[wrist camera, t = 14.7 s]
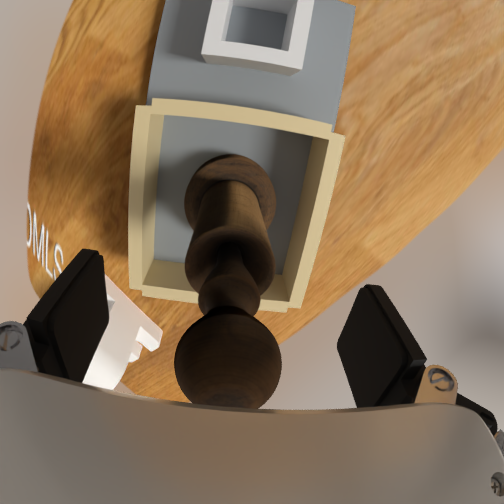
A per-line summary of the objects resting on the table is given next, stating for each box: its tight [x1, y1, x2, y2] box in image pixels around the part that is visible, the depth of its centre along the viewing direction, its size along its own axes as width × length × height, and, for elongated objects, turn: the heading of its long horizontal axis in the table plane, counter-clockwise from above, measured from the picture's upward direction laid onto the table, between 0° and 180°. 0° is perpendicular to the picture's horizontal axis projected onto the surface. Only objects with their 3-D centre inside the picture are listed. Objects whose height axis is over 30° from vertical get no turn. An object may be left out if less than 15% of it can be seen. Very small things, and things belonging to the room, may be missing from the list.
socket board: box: [128, 0, 356, 312], centre depth 20 cm, size 14×24×5 cm, turn 171°
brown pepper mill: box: [174, 154, 282, 409], centre depth 15 cm, size 7×6×18 cm
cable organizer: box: [82, 274, 163, 390], centre depth 24 cm, size 5×10×10 cm, turn 35°
